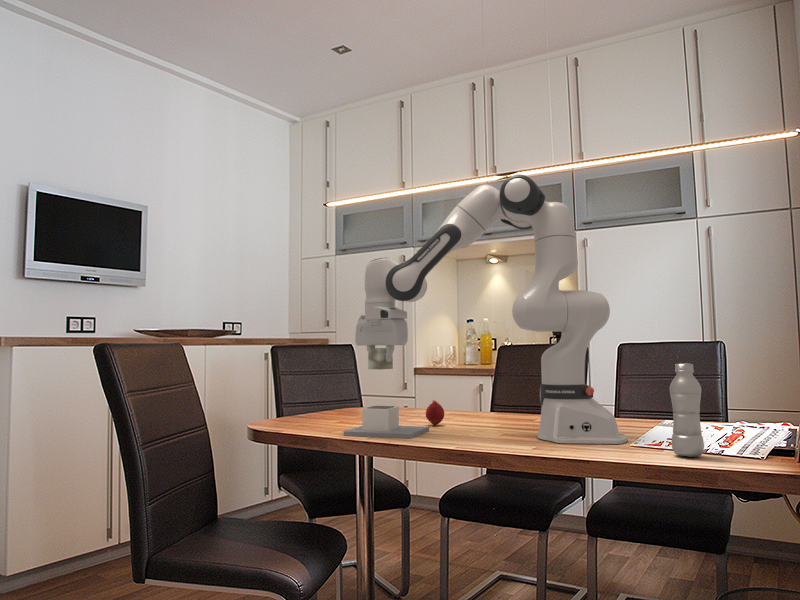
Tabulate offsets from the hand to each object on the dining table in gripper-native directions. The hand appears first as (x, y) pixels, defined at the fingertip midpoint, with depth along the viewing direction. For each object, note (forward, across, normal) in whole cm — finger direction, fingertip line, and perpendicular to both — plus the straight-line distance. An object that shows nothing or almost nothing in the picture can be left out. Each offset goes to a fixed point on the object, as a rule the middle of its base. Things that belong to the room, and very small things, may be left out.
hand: (380, 361), depth 180 cm
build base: (+20, +2, +1) cm, 21 cm away
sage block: (+2, 0, 0) cm, 2 cm away
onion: (+21, 0, +22) cm, 30 cm away
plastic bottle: (+20, +78, +22) cm, 83 cm away
